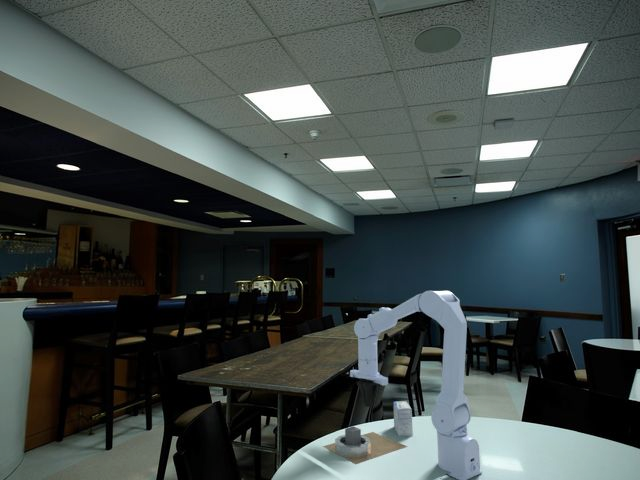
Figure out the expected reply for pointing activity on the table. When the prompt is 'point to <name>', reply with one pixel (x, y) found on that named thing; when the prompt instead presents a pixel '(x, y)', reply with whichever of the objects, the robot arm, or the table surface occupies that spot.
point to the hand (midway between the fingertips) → (368, 405)
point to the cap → (353, 436)
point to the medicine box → (403, 419)
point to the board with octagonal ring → (364, 447)
